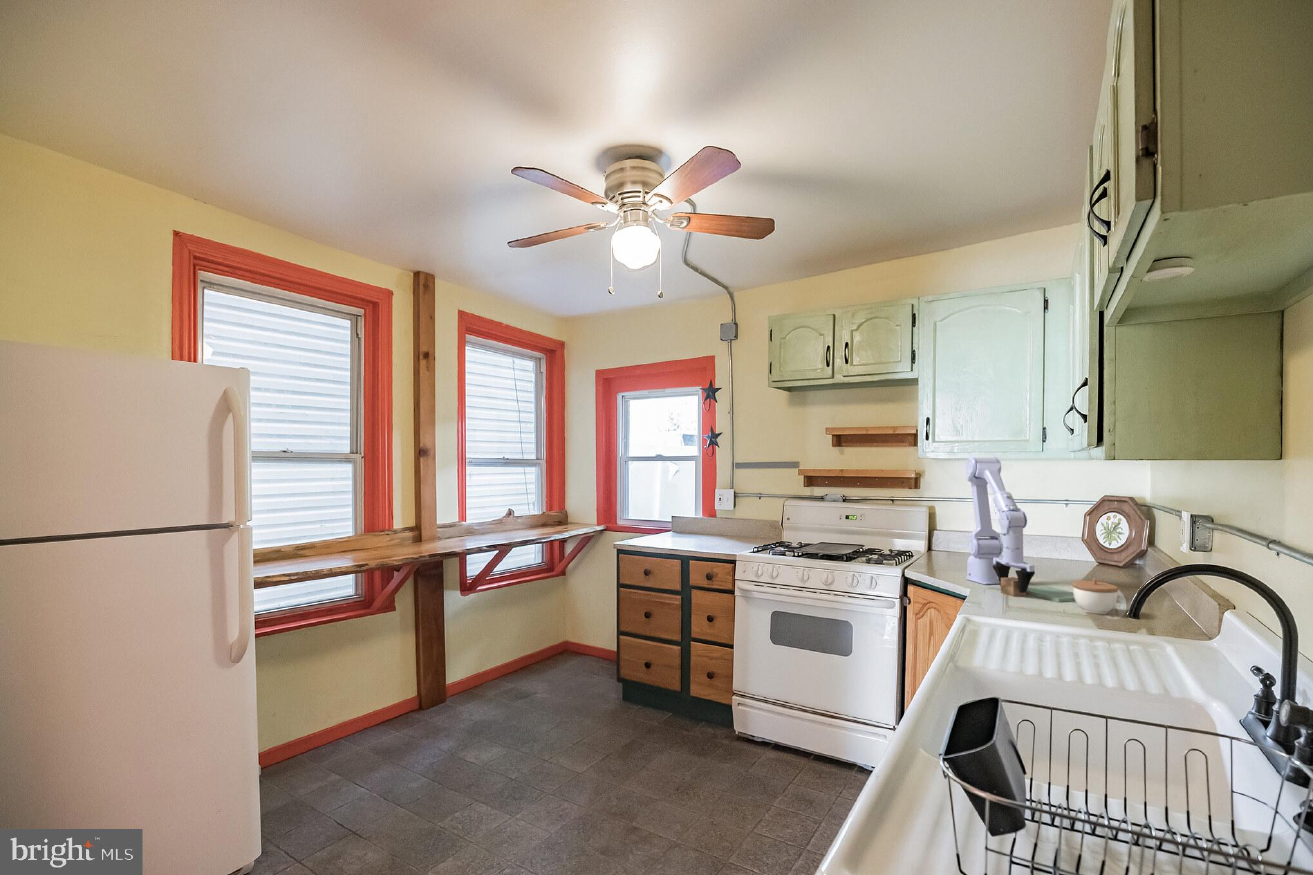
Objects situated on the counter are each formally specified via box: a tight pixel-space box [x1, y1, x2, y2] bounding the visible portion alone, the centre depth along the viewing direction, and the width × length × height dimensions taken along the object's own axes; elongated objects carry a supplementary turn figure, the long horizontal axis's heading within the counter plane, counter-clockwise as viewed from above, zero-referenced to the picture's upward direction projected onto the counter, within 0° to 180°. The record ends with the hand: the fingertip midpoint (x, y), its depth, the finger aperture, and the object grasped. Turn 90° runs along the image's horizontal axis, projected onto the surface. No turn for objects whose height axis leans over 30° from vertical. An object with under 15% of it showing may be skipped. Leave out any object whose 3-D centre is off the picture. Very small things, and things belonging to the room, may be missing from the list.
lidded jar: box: [1072, 578, 1119, 615], centre depth 177 cm, size 11×11×9 cm
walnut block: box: [1000, 576, 1027, 597], centre depth 198 cm, size 5×5×5 cm
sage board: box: [1026, 584, 1076, 603], centre depth 197 cm, size 16×12×1 cm
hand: (1013, 589), depth 198 cm, fingers open, 7 cm apart
